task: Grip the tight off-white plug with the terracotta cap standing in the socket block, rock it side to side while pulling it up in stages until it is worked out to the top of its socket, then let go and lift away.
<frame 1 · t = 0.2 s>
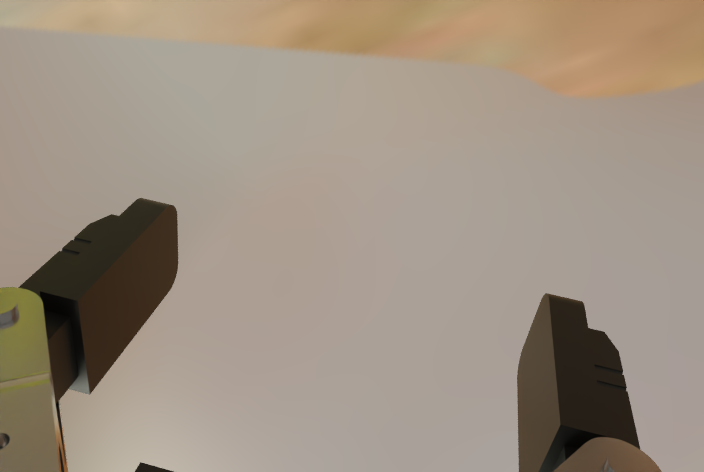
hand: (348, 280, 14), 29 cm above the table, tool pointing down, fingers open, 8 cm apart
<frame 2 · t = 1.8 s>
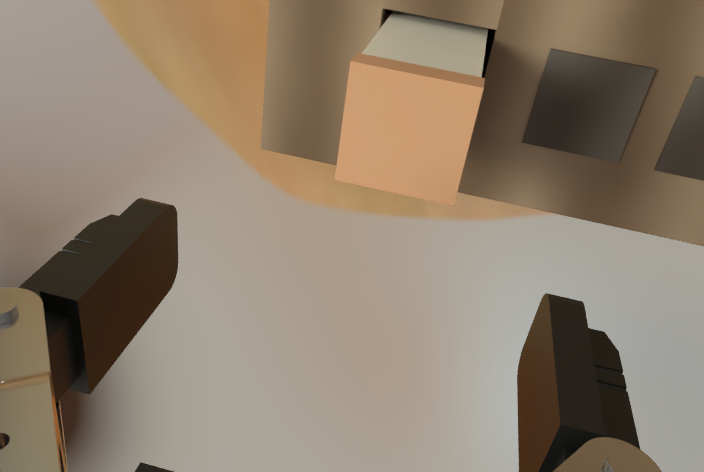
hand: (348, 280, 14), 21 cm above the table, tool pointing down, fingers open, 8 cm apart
socket block: (521, 54, 31), on the table
plug: (426, 79, 26), point 7 cm above the table, slide at 0.0 cm
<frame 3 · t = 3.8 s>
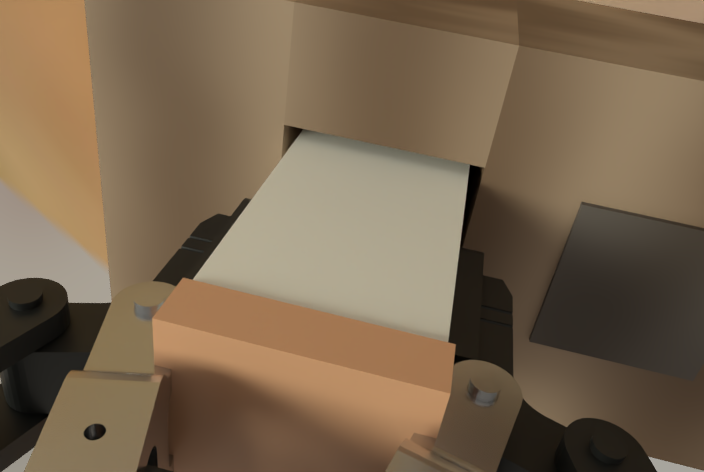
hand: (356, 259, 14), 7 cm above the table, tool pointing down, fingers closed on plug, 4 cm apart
socket block: (526, 164, 20), on the table
plug: (363, 243, 15), point 7 cm above the table, slide at 0.0 cm, touching gripper
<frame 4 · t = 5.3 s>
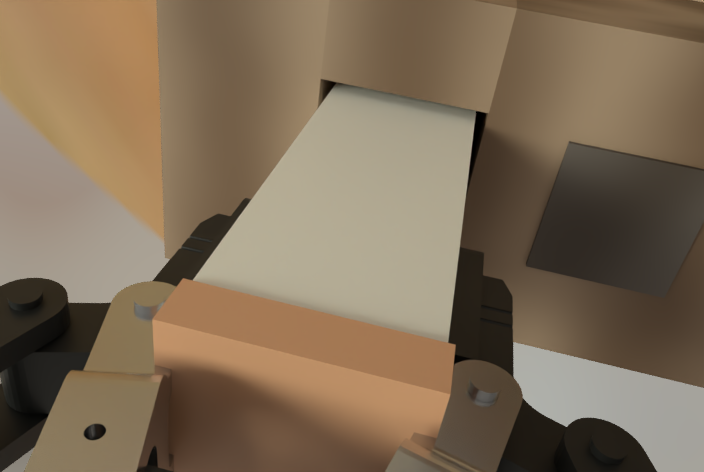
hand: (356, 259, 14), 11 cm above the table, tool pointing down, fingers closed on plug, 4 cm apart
socket block: (523, 124, 23), on the table
plug: (363, 242, 15), point 10 cm above the table, slide at 3.4 cm, touching gripper
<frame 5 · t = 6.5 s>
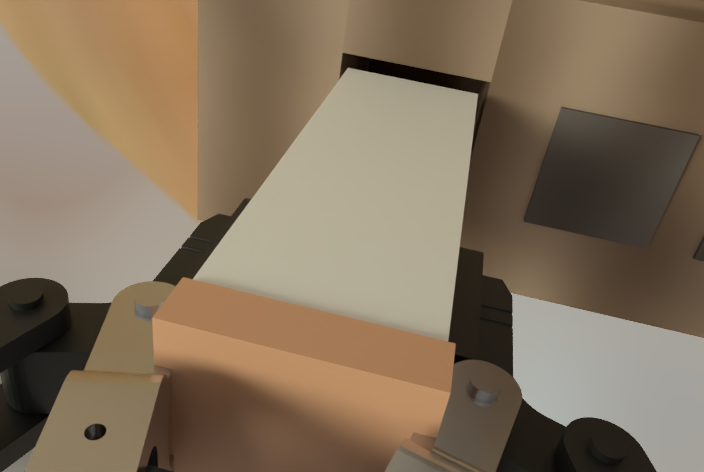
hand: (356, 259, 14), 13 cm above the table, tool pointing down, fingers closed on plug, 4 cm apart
socket block: (522, 100, 25), on the table
plug: (363, 243, 15), point 13 cm above the table, slide at 6.1 cm, touching gripper
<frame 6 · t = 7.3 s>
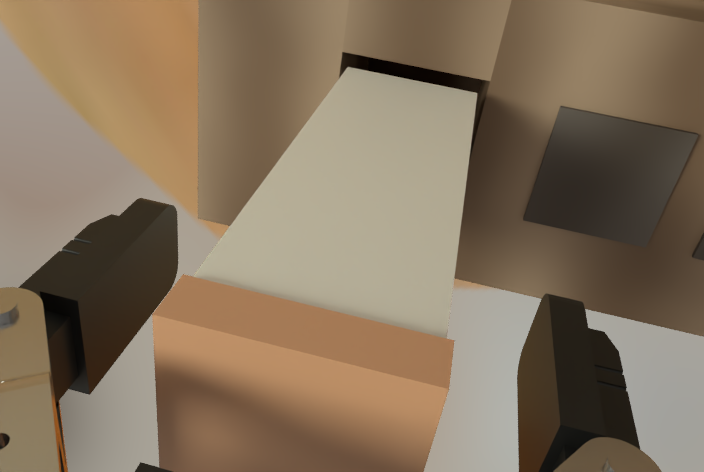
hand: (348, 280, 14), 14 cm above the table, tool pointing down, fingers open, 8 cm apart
socket block: (521, 99, 25), on the table
plug: (362, 241, 15), point 13 cm above the table, slide at 6.1 cm
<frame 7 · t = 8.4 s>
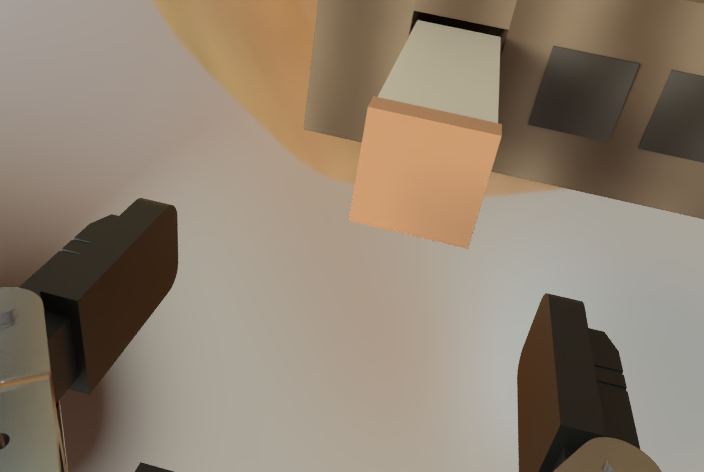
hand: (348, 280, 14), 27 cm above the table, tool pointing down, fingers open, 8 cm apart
socket block: (526, 51, 36), on the table
plug: (437, 113, 26), point 13 cm above the table, slide at 6.1 cm
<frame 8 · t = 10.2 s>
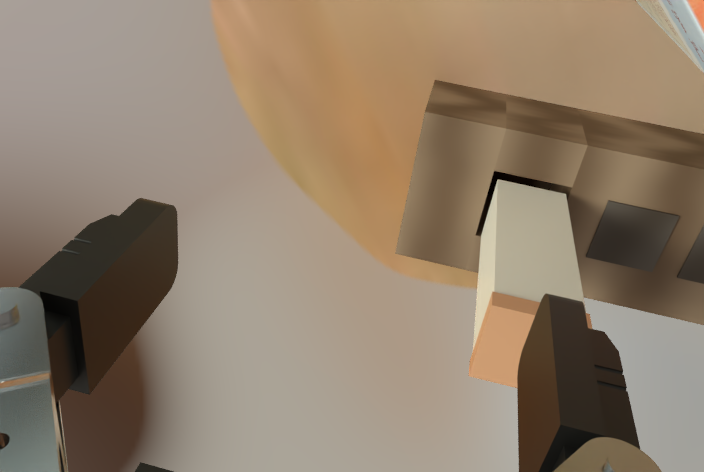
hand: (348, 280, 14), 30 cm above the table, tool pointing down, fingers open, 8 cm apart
socket block: (578, 183, 43), on the table
plug: (524, 273, 33), point 13 cm above the table, slide at 6.1 cm
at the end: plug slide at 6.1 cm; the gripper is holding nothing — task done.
